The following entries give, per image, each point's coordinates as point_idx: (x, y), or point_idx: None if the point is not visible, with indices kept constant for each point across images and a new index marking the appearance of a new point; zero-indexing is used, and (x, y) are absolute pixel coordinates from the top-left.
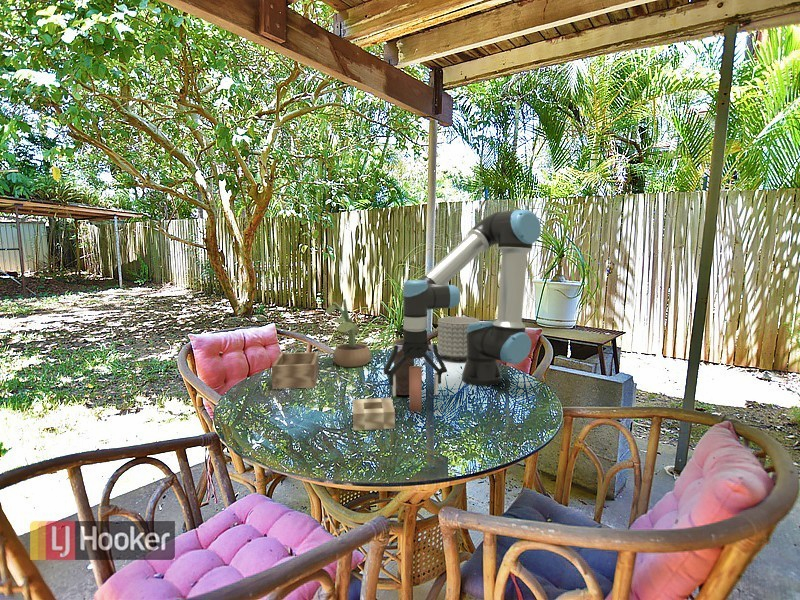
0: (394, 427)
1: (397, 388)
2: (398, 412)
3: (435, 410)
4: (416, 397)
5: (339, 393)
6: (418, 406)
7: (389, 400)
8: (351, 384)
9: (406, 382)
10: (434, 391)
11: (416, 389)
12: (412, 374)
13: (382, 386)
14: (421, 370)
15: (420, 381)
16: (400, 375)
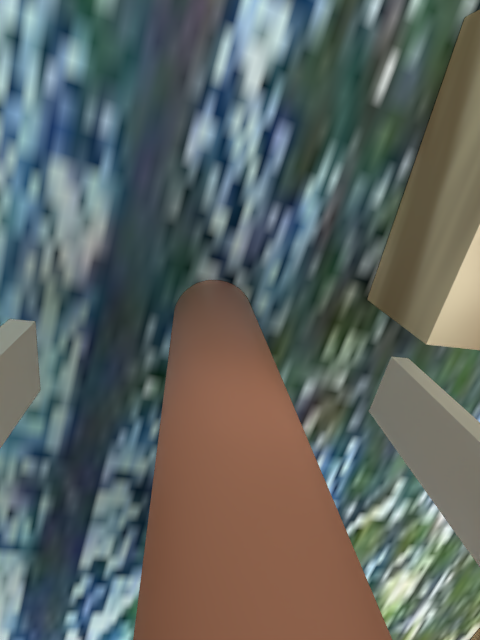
0: (473, 14)
1: None
2: (325, 300)
3: (83, 274)
4: (227, 321)
5: (463, 545)
6: (206, 292)
7: (468, 291)
8: (382, 612)
9: None
10: (33, 382)
11: (237, 357)
12: (335, 528)
13: None
14: (144, 637)
15: (184, 430)
16: None
